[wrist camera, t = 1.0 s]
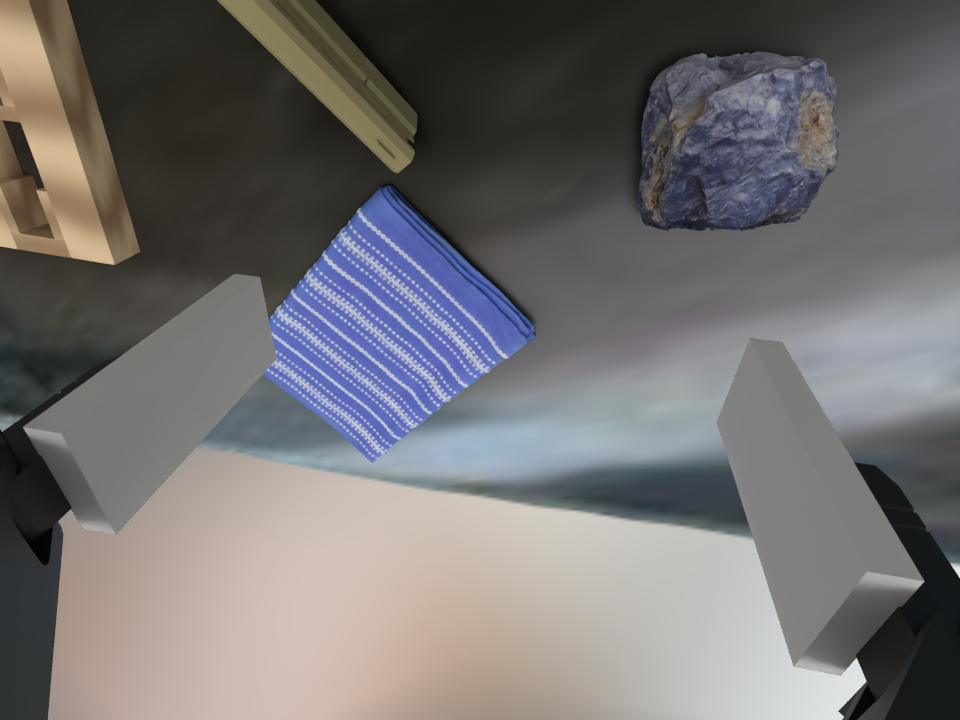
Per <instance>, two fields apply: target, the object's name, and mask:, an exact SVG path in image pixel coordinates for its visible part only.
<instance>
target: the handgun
mask: <svg viewBox="0 0 960 720" xmlns="http://www.w3.org/2000/svg"><path fill="white" fill-rule="evenodd" d="M217 1H218V2H219V3H220V4H221V5H222V6H223V7H224V8H225V9H226V10H227V11H229V12H230V13H231V14H232V15H233V16H234V17H235V18H236V19H237V20H238V21H239V22H240V23H241V24H242V25H243V26H244V27H245V28H246V29H247V30H248V31H249V32H250V33H251V34H252V35H253V36H254V37H255V38H256V39H257V40H258V41H259V42H260V43H261V44H262V45H263V46H264V47H266V48H267V49H268V50H269V51H270V52H271V53H272V54H273V55H274V56H275V57H276V58H277V59H278V60H279V61H280V62H281V63H282V64H283V65H284V66H285V67H286V68H287V69H288V70H289V71H290V72H291V73H292V74H293V75H294V76H295V77H296V78H297V79H298V80H299V81H300V82H301V83H303V84H304V85H305V86H306V87H307V88H308V89H309V90H310V91H311V92H312V93H313V94H314V95H315V96H316V97H317V98H318V99H319V100H320V101H321V102H322V103H323V104H324V105H325V106H326V107H327V108H328V109H329V110H330V111H331V112H332V113H333V114H334V115H335V116H336V117H337V118H338V119H340V120H341V121H342V122H343V123H344V124H345V125H346V126H347V127H348V128H349V129H350V130H351V131H352V132H353V133H354V134H355V135H356V136H357V137H358V138H359V139H360V140H361V141H362V142H363V143H364V144H365V145H366V146H367V147H368V148H369V149H370V150H371V151H372V152H373V153H374V154H375V155H376V156H378V157H379V158H380V159H381V160H382V161H383V162H384V163H385V164H386V165H387V166H388V167H389V168H390V169H391V170H392V171H393V172H396V173H399V172H400V171H401V170H402V169H404V168H405V167H406V166H407V165H408V164H410V163H411V162H412V160H413V157H414V155H415V151H414V149H413V148H412V147H411V145H410V143H409V141H408V140H409V139H410V140H411V141H412V142H413V143H414V138H413V136H414V135H415V133H416V131H417V113H416V112H415V111H414V110H413V109H412V108H411V106H410V105H409V104H408V103H407V102H406V101H405V100H404V99H403V98H402V96H401V95H400V94H399V93H398V92H397V91H396V90H395V89H394V87H393V86H392V85H391V84H390V83H389V82H388V81H387V80H386V79H385V77H384V76H383V75H382V74H381V73H380V72H379V71H378V70H377V68H376V67H375V66H374V65H373V64H372V63H371V62H370V61H369V60H368V58H367V57H365V55H364V54H363V53H362V52H361V51H360V50H359V49H358V47H357V46H356V45H355V44H354V43H353V42H352V41H351V40H350V38H349V37H348V36H347V35H346V34H345V33H344V32H343V31H342V30H341V28H340V27H339V26H338V25H337V24H336V23H335V22H334V21H333V19H332V18H331V17H330V16H329V15H328V14H327V13H326V12H325V11H324V9H323V8H322V7H321V6H320V5H319V4H318V3H317V2H316V0H217Z"/></svg>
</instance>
